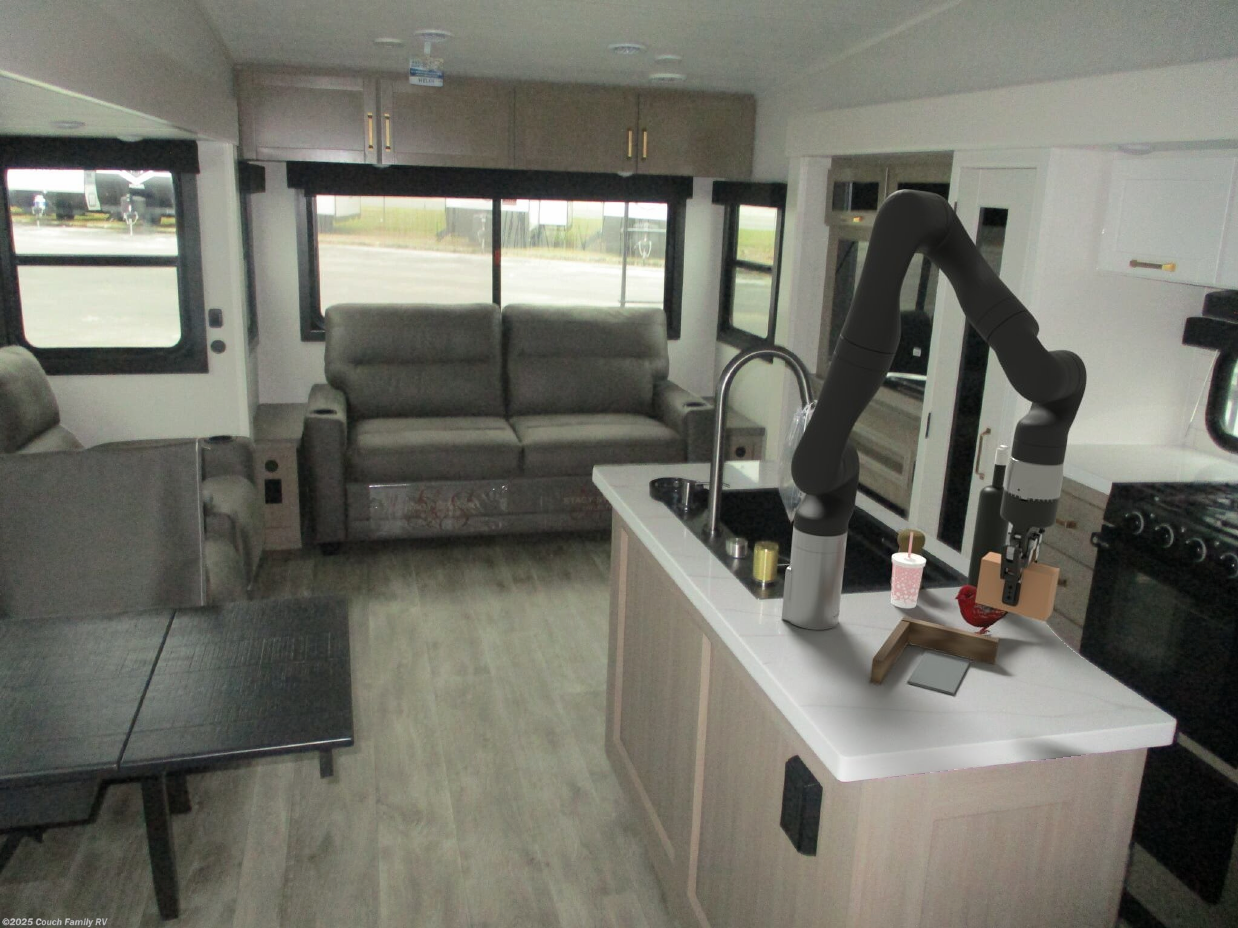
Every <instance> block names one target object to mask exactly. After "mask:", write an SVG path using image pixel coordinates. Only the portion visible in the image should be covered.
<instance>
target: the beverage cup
mask: <svg viewBox="0 0 1238 928" xmlns="http://www.w3.org/2000/svg"><path fill="white" fill-rule="evenodd" d="M912 540H913V532H911V534H910V543H909V551H908V553H898V552H895V553H893V554H892V555H891V563H892V571H891V578H892V584H891V591H890V593H891V595H890V603H891V604H892V605H893V606H895V607H898V608H900V609H914V608H916V607H917V603H918V602H917V601H918V597H919V592H920V589H919V587H920V582H921V577H922V578H923V571H924V567H926V563H927V559H926V558H925V557H923V555H921V556H920V555H916V554H912V553H911V548H912Z"/></svg>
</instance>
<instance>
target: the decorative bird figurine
mask: <svg viewBox="0 0 1238 928" xmlns="http://www.w3.org/2000/svg"><path fill="white" fill-rule="evenodd" d="M976 593H977V588H975V587H973V586H970V585H967V584H965V585H963V586H962V587H960V588H959V590H958V592H957V594H956V596H955V598H954V600H957V605H958V606H959V612H960V615H961V617H962V618H963V620H964V621H965V622H966V623H967V624H969V625H970V626H972V627H975V628H979V629H980V628H981V629H980V630H979V631H975V632H973V633H977V634H981V635H987V634H988V633H991V631H990V630H989V629H988V628H990V627H991V626H993V625H996V623H997V622H998V621H1000V620H1002V619H1004V618H1005V617H1006V616H1007V615H1008V613H1009V612H1008V611H1004V610H1001V609H997V608H993V607H990V606H986V605H982V604H979V603H975V600H976Z"/></svg>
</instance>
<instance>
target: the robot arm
mask: <svg viewBox="0 0 1238 928" xmlns="http://www.w3.org/2000/svg"><path fill="white" fill-rule="evenodd" d="M915 254H920V255H923V256H924V257H925V258H927V259H928V260H930V262H931V263H933V264H934V265H935V266H936V267H937V268H938V269H939V270H940V271H941V272H942V273H943V274H944V276H945V277H946V279H947V280H948V281H949V283H950V284H951V286H952V288H953V291H954V293H955V295H956V299H957V301H958V304H959V306H960V308H961V310H962V312H963V314H964V316H965V317H966V319H967V320H968V322H969V323H970V325H971V326H972V327H973V328H974V330H975V331H976V332H977V333H978V334H979V336H980V337H981V338H982V339H983V340H984V341H985V343H987V345H988V346H989V347H990V348H991V349H992V350H993V351H994V353H995V355H996V358H997V360H998V363H999V365H1000V367H1001V369H1002V370H1003V372H1004V374H1005V376H1006V378H1007V380H1008V382H1009V384H1010V385H1011V386H1012V388H1013V389H1014V391H1016V392H1017V394H1019V395H1020V396H1021V397H1022V398H1024V399H1025V400H1026V401H1028V402H1031V406H1030V409H1029V411H1028V412H1027V414H1025V415H1024V416H1023V417H1022V418H1021V419H1019V420H1018V422H1017V423H1016V426H1015V428H1014V434H1013V440H1012V446H1011V452H1010V453H1011V454H1010V459H1009V462H1008V464H1007V467H1006V471H1005V477H1004V484H1003V487H1004V491H1003V497H1002V504H1001V510H1000V515H1001V517H1002V518H1003V519H1004V520H1006V521H1008V522H1009V524H1011V525H1012V527H1011V531H1008V533H1007V538H1006V544H1003V546H1002V547H1001V569H1000V579H1003V580H1005V582H1004V588H1003V595H1002V603H1003V604H1006V605H1010V606H1013V607H1015V606H1017V604H1018V602H1019V596H1020V590H1021V584H1022V581H1023V575H1024V570H1025V569H1026V568H1028V567H1029V566H1030V562H1034V563H1038V562H1039V556H1040V552H1041V547H1042V543H1043V540H1044V536H1045V533H1046V528H1050V527H1053V526H1054V525H1055V523H1056V521H1057V516H1058V509H1059V505H1060V503H1059V502H1060V498H1061V492H1062V488H1063V487H1062V486H1063V479H1064V462H1065V458H1066V452H1067V446H1068V438H1069V432H1070V430H1071V428H1072V426H1073V424H1074V422H1075V419H1076V416H1077V414H1078V412H1079V410H1080V406H1081V403H1082V401H1083V397H1084V396H1085V392H1086V387H1087V381H1088V380H1087V378H1088V377H1087V375H1088V374H1087V368H1086V366H1085V363H1084V361H1083V359H1082V357H1080V356H1079V355H1078V354H1077V353H1075V352H1073V351H1071V350H1067V349H1055V350H1048V349H1046V348H1045V347H1044V345H1043V344H1042V342H1041V341H1040V339H1039V337H1038V335H1039V332H1040V325H1039V322H1038V321H1037V320H1036V318H1035V317H1034V315H1033V314H1032V313H1031V312H1030V311H1029V310H1028V308H1027V307H1026V306H1025V305H1024V304H1023V302H1022V301H1021V300H1020V299H1019V298H1018V297H1017V296H1016V295H1015V294H1014V293H1013V291H1011V289H1010V288H1009V287H1008V286H1007V285H1006V284H1005V283H1004V281H1003V280H1002V279H1001V277H999V276H998V273H996V272H995V271H994V269H993V268H992V266H991V265H990V264H989V262H988V261H987V260H986V259H985V257H984V256H983V254H982V253H981V251H980V250H979V248H978V247H977V245H976V244H975V242H974V241H973V239H972V238H971V235H969V233H968V232H967V230H966V228H965V226H964V224H963V223H962V221H961V219H960V218H959V216H958V215H957V213H956V211H955V210H954V208H953V207H952V205H951V204H950V203H949V201H948V200H947V199H946V198H945V197H943V196H942V195H940V194H938V193H935V192H932V191H924V190H923V191H922V190H917V189H916V190H915V189H899V190H895V191H894V192H892V193H891V194H889V195H888V197H886V198H885V199H884V200H883V203H882V204H881V205H880V207H879V208H878V211H877V213H876V216H875V218H874V222H873V225H872V229H871V232H870V237H869V241H868V245H867V249H866V255H865V258H864V261H863V266H862V270H861V273H860V276H859V277H860V278H859V279H858V282H857V286H856V289H855V291H854V293H853V294H854V295H853V298H852V300H851V303H850V306H849V310H848V313H847V315H846V319H845V321H844V323H843V325H842V329H841V331H840V334H839V337H838V338H837V341H836V345H835V348H834V351H833V353H832V356H831V360H830V363H829V366H828V370H827V371H826V375H825V378H824V380H823V383H822V386H821V389H820V392H819V395H818V398H817V401H816V404H815V406H814V409H813V412H812V415H811V417H810V418H809V421H808V423H807V425H806V426H805V429H804V431H803V434H802V435H801V437H800V439H799V442H798V443H797V446H796V448H795V450H794V452H793V455H792V458H791V462H790V463H791V464H790V471H791V478H792V480H793V482H794V485H795V486H796V487H797V489H799V491H801V493H804V494H805V496H804V498H803V500H802V501H801V503H800V504H799V506H798V507H797V508H796V510H795V511H794V517H793V527H792V528H793V529H792V538H791V551H790V562H789V565H788V567H786V568H785V574H784V575H785V578H784V585H783V595H782V596H783V597H782V599H783V600H782V609H781V611H782V612H781V619H782V620H785V621H787V622H790V624H792V625H794V626H796V627H799V628H803V629H808V630H813V631H814V630H817V631H822V630H823V631H824V630H829V629H832V628H834V627H836V626H837V625H838V623H839V617H840V608H841V598H842V588H843V577H844V568H845V561H846V560H845V559H846V548H847V539H848V530H849V529H848V528H849V522H850V519H851V518H852V515H853V513H854V511H855V507H856V499H857V492H858V487H859V486H858V485H859V480H860V470H861V468H860V467H861V466H860V465H861V464H860V456H859V453H858V450H857V448H856V446H855V444H853V443H852V442H851V441H850V440H849V438H850V436H851V434H852V432H853V428H854V427H855V425H856V423H857V422H858V419H859V418H860V417H861V415H862V414H863V412H864V411H865V410H866V409H867V407H868V405H869V404H870V403H871V402H872V400H873V399H874V397H875V396H876V395H877V393H878V392H879V390H880V388H881V387H882V385H883V383H884V382H885V381H886V378H887V376H888V374H889V371H890V369H891V367H892V364H893V361H894V359H895V356H896V353H897V350H898V348H899V344H900V341H901V335H902V321H901V320H902V319H901V292H902V287H903V285H904V284H903V283H904V279H906V278H905V277H906V275H907V272H908V269H909V268H910V265H911V262H912V261H913V258H914V256H915ZM1021 559H1022V560H1025V561H1024V562H1022V561H1021ZM1038 564H1039V563H1038ZM1010 569H1012V570H1014V571H1015V573H1010Z"/></svg>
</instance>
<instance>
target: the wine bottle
mask: <svg viewBox="0 0 1238 928" xmlns="http://www.w3.org/2000/svg"><path fill="white" fill-rule="evenodd" d="M1009 453H1010V446H1008V445H1003V444H999V445H996V448H995V457H994V468H993V475H992V481H991V484H990V485H986V486H983V488H981V490H980V492H979V496H978V503H977V509H976V516H975V523H974V524H975V525H974V531H973V540H972V546H971V547H972V548H971V553H970V561H969V567H968V575H967V581H966V585H970V586H973V587H975V588H977V587H978V580H979V574H980V567H981V560H982V558H983V557H984V556H986V555H987V554H988V553H989V552H993V553H997V554H1001V547H1002V546H1003V544H1006V538H1007V534H1008V532H1009V525H1010V522H1008V521H1006V520H1004V519H1003V518H1002V517H1001V515H1000V510H1001V504H1002V497H1003V491H1004V485H1005V478H1006V471H1007V466H1008V460H1009ZM1006 545H1007V544H1006Z"/></svg>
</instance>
